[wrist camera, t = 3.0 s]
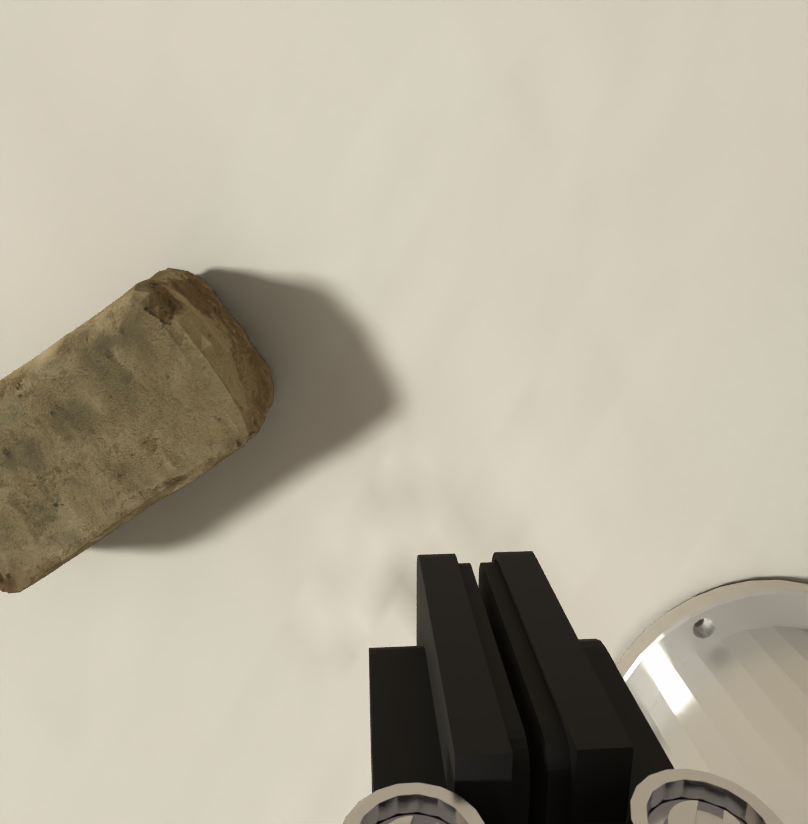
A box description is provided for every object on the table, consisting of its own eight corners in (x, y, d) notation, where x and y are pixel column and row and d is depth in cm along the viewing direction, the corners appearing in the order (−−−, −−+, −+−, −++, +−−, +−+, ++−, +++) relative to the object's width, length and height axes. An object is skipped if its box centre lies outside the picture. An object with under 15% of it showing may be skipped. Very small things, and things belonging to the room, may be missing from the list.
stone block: (-60, 437, 26) (-157, 487, 21) (194, 251, 24) (154, 258, 20) (51, 555, 27) (-16, 628, 22) (296, 385, 26) (281, 423, 21)
